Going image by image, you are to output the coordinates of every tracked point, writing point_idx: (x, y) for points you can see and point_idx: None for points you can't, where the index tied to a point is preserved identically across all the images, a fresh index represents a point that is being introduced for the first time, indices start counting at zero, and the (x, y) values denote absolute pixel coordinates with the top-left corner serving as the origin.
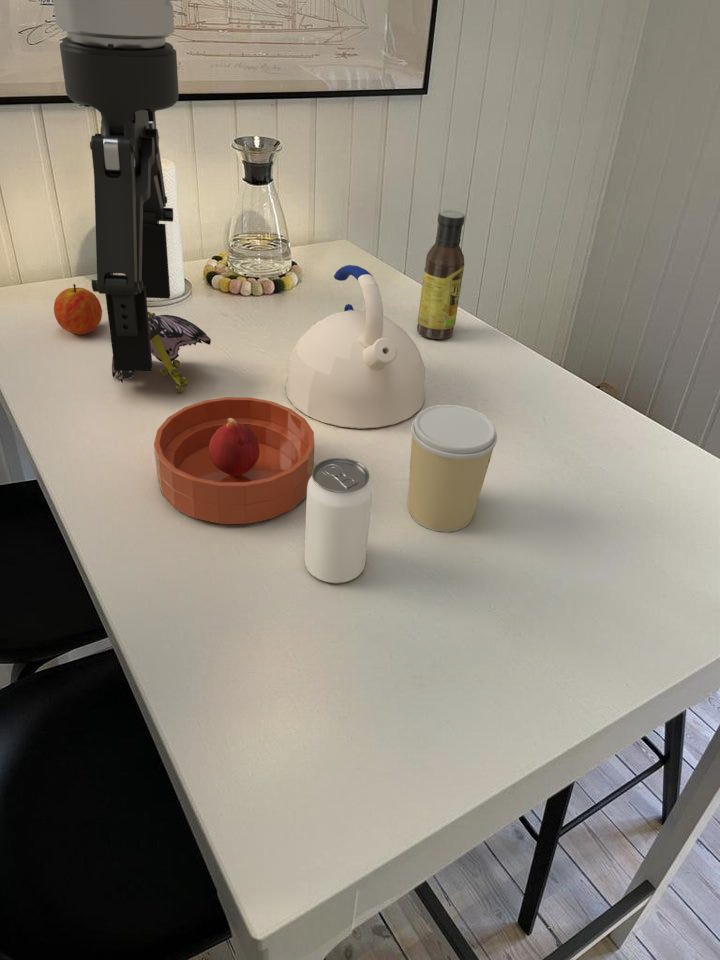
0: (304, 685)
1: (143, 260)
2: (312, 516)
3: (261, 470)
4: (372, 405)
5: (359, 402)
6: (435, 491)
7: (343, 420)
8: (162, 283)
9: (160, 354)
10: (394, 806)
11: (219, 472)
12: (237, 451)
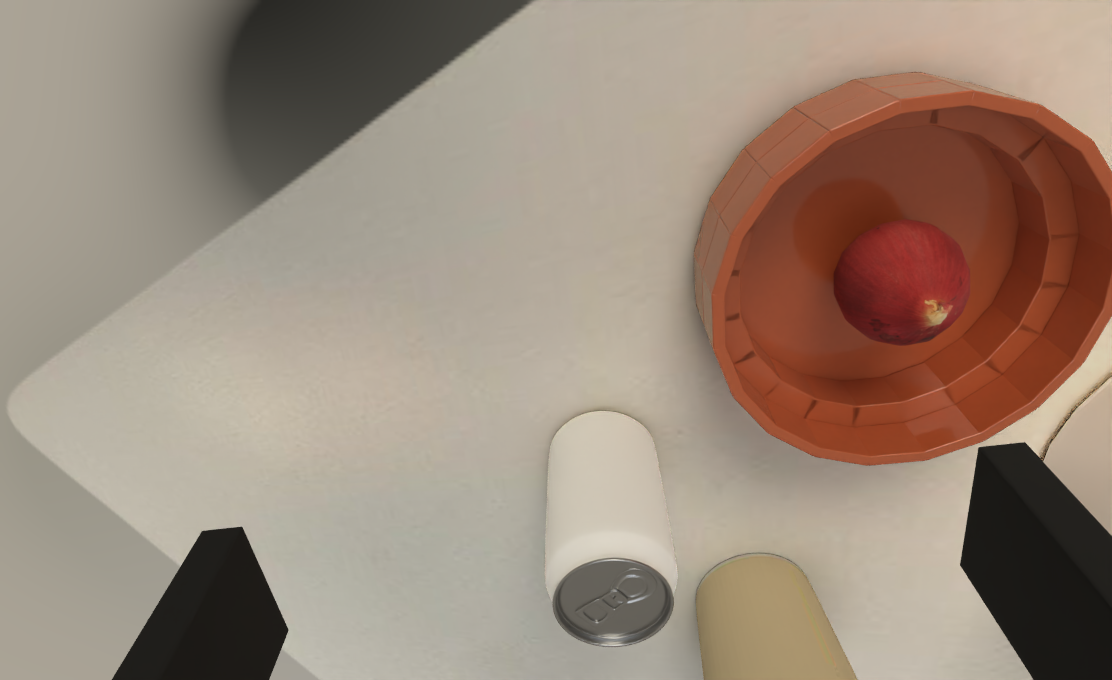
0: (337, 426)
1: (1103, 649)
2: (567, 508)
3: None
4: None
5: None
6: (710, 650)
7: (1058, 457)
8: (1004, 605)
9: None
10: (188, 529)
11: (883, 218)
12: (856, 311)
